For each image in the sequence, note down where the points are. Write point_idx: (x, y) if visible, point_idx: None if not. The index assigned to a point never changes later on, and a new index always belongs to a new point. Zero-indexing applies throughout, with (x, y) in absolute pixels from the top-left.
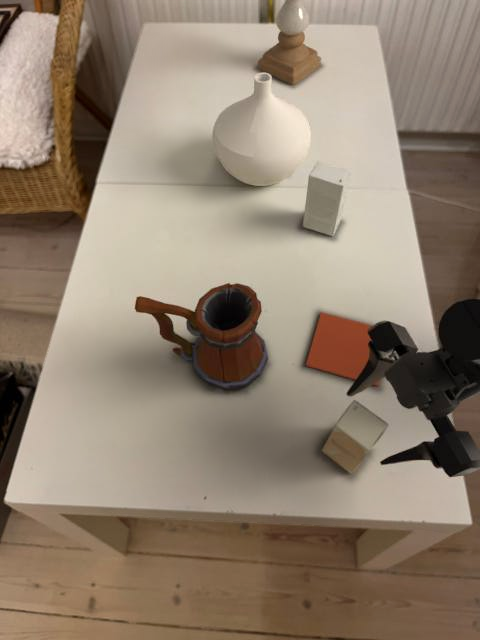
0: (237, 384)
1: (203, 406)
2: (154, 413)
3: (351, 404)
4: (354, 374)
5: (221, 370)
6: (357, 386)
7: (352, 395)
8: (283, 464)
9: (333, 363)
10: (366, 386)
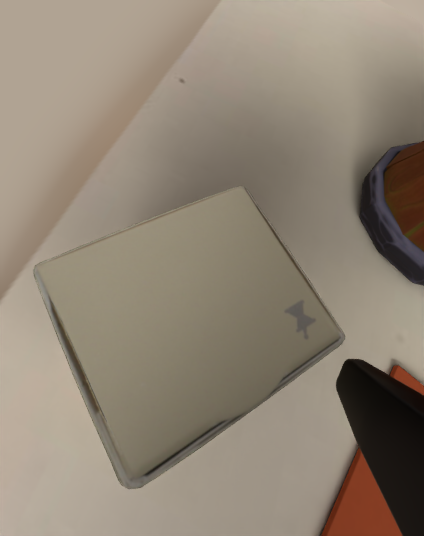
0: (376, 190)
1: (336, 145)
2: (338, 85)
3: (323, 309)
4: (358, 495)
5: (421, 150)
6: (410, 404)
7: (341, 388)
8: None
9: None
10: (391, 471)
